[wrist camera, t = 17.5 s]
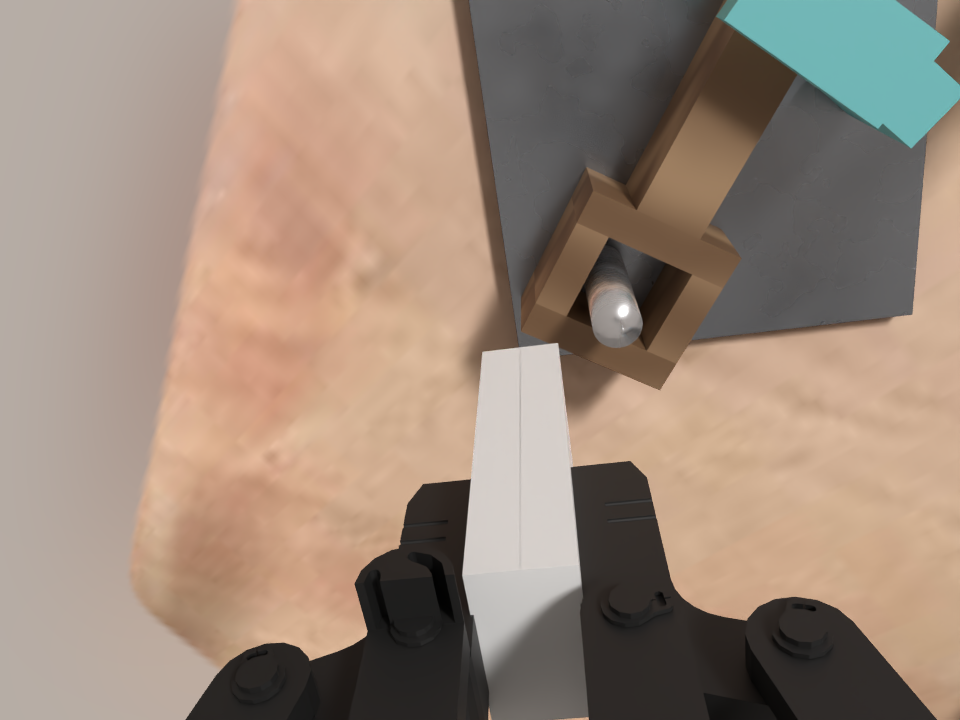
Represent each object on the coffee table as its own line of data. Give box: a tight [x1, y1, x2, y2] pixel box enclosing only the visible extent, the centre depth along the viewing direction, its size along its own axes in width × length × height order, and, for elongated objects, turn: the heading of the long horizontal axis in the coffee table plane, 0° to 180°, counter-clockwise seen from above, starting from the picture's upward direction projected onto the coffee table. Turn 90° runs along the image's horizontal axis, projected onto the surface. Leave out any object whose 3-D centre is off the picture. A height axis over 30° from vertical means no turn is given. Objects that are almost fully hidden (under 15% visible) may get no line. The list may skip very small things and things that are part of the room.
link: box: [521, 0, 797, 390], centre depth 36 cm, size 18×7×4 cm, turn 156°
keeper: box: [716, 0, 960, 148], centre depth 33 cm, size 4×9×8 cm, turn 59°
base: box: [469, 0, 938, 355], centre depth 35 cm, size 19×19×8 cm
